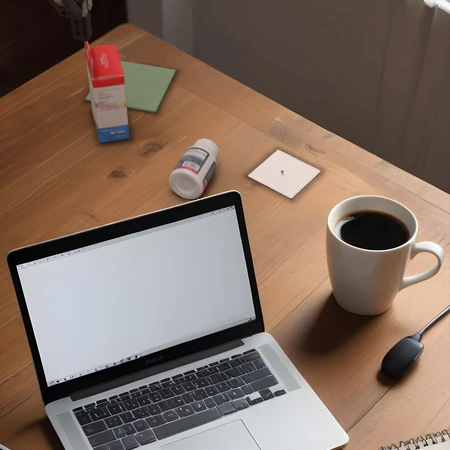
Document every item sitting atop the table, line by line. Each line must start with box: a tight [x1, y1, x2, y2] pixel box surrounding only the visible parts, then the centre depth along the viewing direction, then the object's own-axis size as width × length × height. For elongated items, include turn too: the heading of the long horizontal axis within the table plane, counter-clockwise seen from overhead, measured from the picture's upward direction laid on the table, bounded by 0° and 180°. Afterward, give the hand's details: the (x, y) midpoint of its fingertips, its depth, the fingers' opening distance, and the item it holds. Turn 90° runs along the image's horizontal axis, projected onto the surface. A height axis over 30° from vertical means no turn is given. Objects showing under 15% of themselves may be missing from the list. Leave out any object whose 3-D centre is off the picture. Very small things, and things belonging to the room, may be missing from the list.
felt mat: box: [84, 60, 177, 114], centre depth 139 cm, size 12×12×1 cm
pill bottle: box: [168, 138, 220, 200], centre depth 123 cm, size 5×5×9 cm
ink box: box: [83, 40, 131, 144], centre depth 127 cm, size 8×5×15 cm, turn 14°
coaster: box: [247, 149, 322, 199], centre depth 126 cm, size 8×8×1 cm
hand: (82, 38), depth 110 cm, fingers closed
